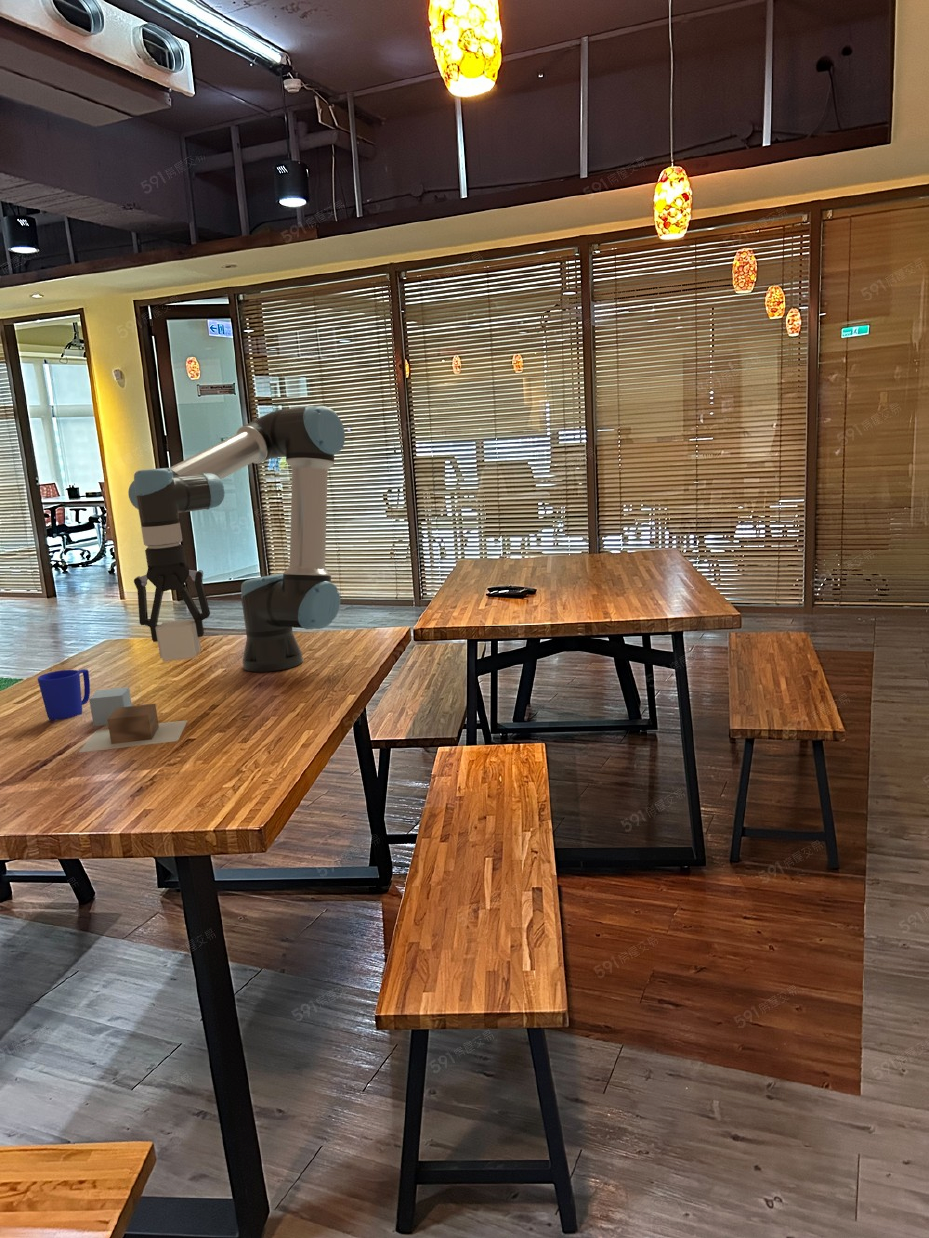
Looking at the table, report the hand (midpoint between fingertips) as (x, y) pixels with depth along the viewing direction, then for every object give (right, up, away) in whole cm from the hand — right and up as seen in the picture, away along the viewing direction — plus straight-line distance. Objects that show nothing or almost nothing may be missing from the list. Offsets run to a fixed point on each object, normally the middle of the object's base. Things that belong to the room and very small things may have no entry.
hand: (181, 653), depth 179 cm
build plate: (-5, -17, -11) cm, 21 cm away
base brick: (-5, -16, -12) cm, 20 cm away
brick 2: (0, 0, 0) cm, 0 cm away
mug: (-26, -14, +8) cm, 31 cm away
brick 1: (-14, -15, 0) cm, 21 cm away
